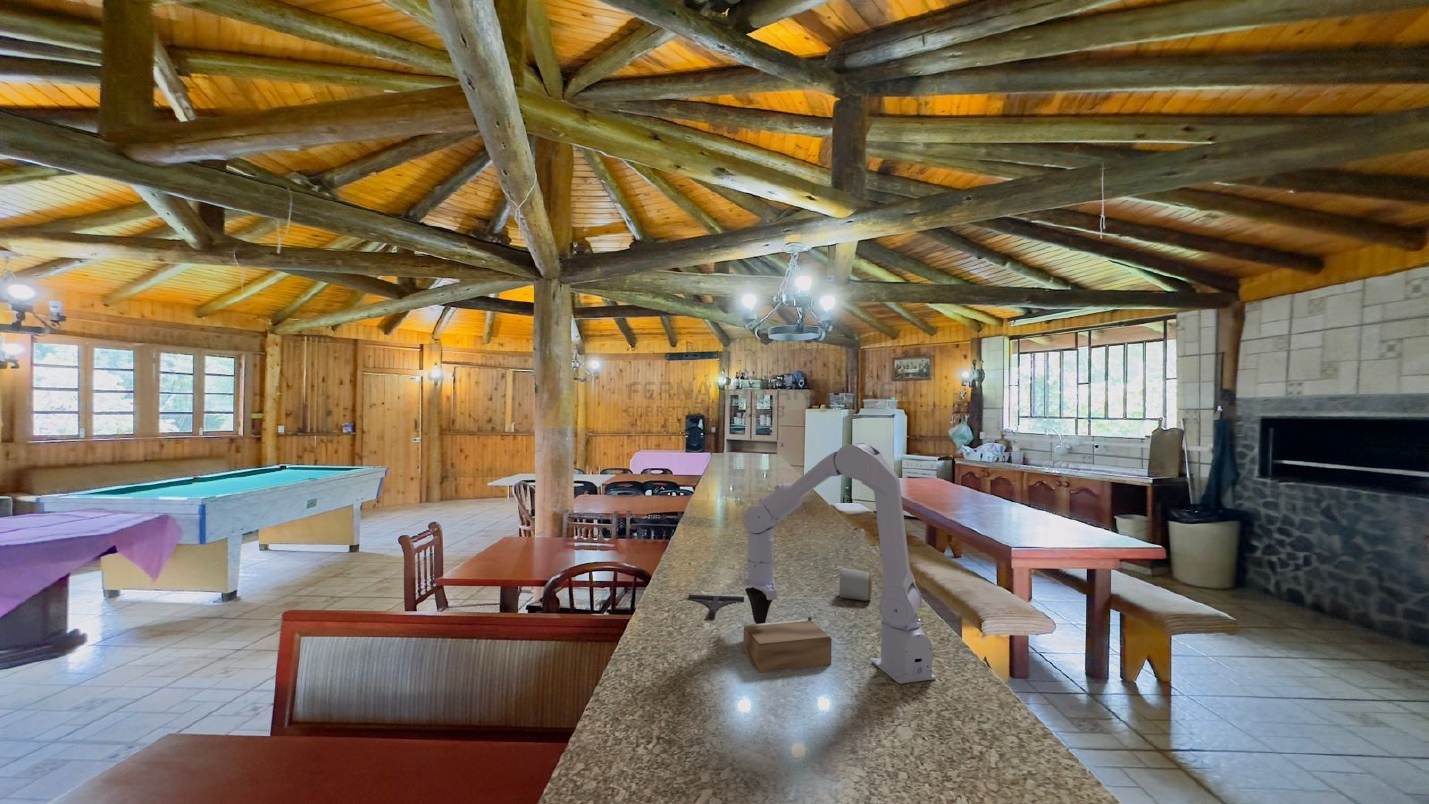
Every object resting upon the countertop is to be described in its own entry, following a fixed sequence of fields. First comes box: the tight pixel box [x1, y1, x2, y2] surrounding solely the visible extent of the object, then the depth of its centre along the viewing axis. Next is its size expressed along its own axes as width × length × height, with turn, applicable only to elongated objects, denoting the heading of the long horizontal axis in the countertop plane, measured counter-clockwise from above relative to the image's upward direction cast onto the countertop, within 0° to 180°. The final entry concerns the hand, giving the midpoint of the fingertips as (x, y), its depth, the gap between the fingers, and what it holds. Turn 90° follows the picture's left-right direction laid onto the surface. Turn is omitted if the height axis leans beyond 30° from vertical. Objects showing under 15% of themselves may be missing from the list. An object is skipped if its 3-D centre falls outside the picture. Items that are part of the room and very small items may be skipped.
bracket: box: [688, 594, 745, 620], centre depth 138 cm, size 14×15×3 cm
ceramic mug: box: [838, 567, 873, 601], centre depth 148 cm, size 11×8×8 cm
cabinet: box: [742, 616, 833, 674], centre depth 111 cm, size 10×15×6 cm, turn 106°
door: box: [743, 618, 808, 629], centre depth 116 cm, size 14×2×5 cm, turn 105°
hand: (759, 622), depth 121 cm, fingers closed
